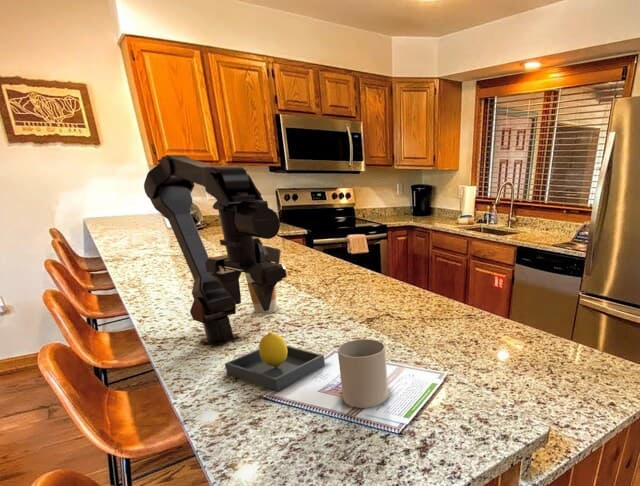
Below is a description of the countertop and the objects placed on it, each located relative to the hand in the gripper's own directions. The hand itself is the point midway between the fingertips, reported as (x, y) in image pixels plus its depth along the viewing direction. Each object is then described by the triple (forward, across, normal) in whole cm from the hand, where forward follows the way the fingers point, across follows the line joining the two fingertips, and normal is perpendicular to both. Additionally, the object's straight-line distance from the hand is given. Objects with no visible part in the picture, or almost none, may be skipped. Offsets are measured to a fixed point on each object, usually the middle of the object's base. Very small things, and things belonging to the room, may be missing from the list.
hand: (252, 307), depth 93 cm
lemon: (+11, -9, +3) cm, 15 cm away
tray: (+12, -9, +3) cm, 15 cm away
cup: (+11, -33, +3) cm, 35 cm away
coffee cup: (+12, +26, -23) cm, 37 cm away
